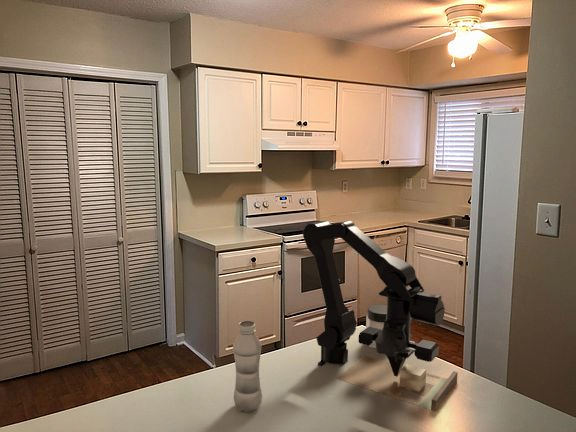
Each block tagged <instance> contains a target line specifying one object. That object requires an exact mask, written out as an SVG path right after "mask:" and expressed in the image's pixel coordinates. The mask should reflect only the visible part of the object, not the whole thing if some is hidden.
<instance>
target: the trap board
mask: <svg viewBox="0 0 576 432" xmlns="http://www.w3.org/2000/svg"><path fill="white" fill-rule="evenodd" d="M404 366H405V365H403V367H404ZM403 367H402V368H403ZM458 373H459V372H457V371H455V370H453V371H452V372H451V373H450V375H449V376H448V378H445V377H442V376H439V375H435V374H431V373H427V372H426V376H428V377H432V378H435V379H438V380H437V381H436V382H435V384H431V383H428V382H426V384H425V386H424V387H423V388H422V390H421V391H420V392H418V391H415V390H412V389H409V388H406V387H402V386H399V384H400V373H399V375H398V376H397V377H396V376H394V374H393V371H392V368H391V365H390V362H389V361H386V360H383V359H379V358H376V357H372V356H369V355H363V356H362V357H361V358H360V359H359V360H358V361H356V362H355V363H354V364H353V365H351V366H350V367H348V368H347V369H346V370H345V371H344V372H342V373H341V374H340V375H339V376H337V377H336V379H337V380H339V381H342V382H346V383H348V384H352V385H354V386H357V387H360V388H363V389H366V390H369V391H373V392H376V393H378V394H381V395H384V396H388V397H392V398H394V399H397V400H400V401H403V402H406V403H409V404H411V405H414V406H417V407H422V408H423V409H427V410H430V411H433V412H436V411H437V410H438V409H439V408H440V406H441V404H442V403H443V402H444V401H445V399H446V398H447V396H448V395H449V394H450V393H451V391H452V389H453V388H454V387H455V385H457V383H458ZM404 391H409V392H411V393H415V394H418V395H421V396H423V399H422V400H421V401H420V402H418V401H417V402H416V401H413V400H410V399H407V398H404V397H402V396H401V395H402V394H403V392H404ZM400 396H401V397H400Z"/></svg>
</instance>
